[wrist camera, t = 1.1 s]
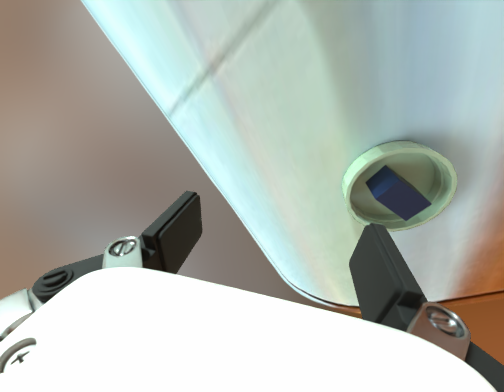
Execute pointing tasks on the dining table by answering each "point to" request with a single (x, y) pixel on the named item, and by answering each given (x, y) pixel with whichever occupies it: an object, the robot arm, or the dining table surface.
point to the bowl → (411, 169)
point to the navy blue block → (397, 193)
